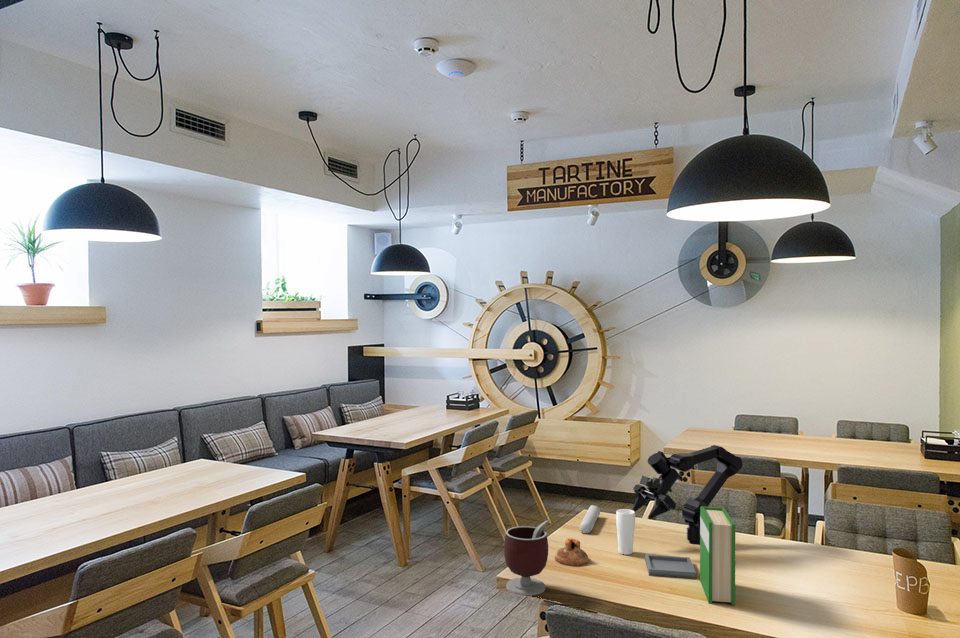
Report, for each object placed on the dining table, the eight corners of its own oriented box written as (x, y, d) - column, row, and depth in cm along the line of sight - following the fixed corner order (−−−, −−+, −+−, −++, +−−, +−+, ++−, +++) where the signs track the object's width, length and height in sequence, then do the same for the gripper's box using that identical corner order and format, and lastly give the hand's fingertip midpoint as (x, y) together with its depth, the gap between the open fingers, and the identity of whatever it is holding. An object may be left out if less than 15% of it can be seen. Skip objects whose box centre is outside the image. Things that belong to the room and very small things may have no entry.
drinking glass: (636, 551, 231) (636, 510, 232) (632, 557, 225) (633, 515, 225) (618, 548, 234) (618, 507, 234) (613, 554, 228) (614, 512, 228)
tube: (593, 525, 249) (602, 508, 272) (580, 520, 250) (590, 503, 274) (589, 538, 249) (598, 519, 273) (576, 532, 251) (586, 514, 275)
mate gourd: (518, 600, 189) (518, 533, 189) (495, 583, 201) (496, 520, 202) (560, 590, 196) (561, 525, 196) (536, 574, 208) (537, 514, 209)
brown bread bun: (586, 555, 228) (587, 534, 228) (589, 567, 216) (589, 546, 216) (554, 553, 229) (554, 533, 229) (555, 566, 217) (555, 544, 217)
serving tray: (689, 563, 220) (689, 557, 220) (696, 578, 206) (696, 572, 206) (645, 560, 223) (645, 554, 223) (648, 575, 209) (648, 569, 209)
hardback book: (735, 606, 186) (735, 524, 187) (708, 603, 188) (709, 522, 188) (724, 582, 204) (724, 507, 204) (699, 580, 205) (700, 506, 205)
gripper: (637, 463, 243) (613, 494, 239) (669, 473, 226) (644, 507, 222) (653, 481, 246) (630, 513, 242) (687, 493, 229) (662, 527, 225)
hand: (640, 514), depth 233 cm, fingers open, 9 cm apart
